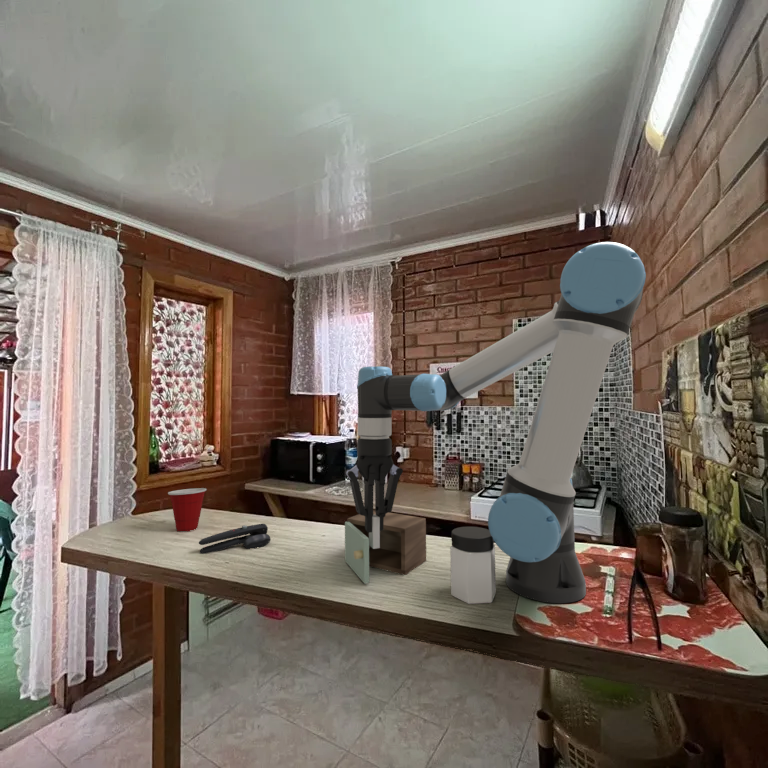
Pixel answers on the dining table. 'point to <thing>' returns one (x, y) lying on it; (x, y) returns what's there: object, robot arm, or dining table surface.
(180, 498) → the plastic cup
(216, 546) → the can opener
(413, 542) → the case
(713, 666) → the dining table surface
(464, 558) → the jar
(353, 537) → the door
